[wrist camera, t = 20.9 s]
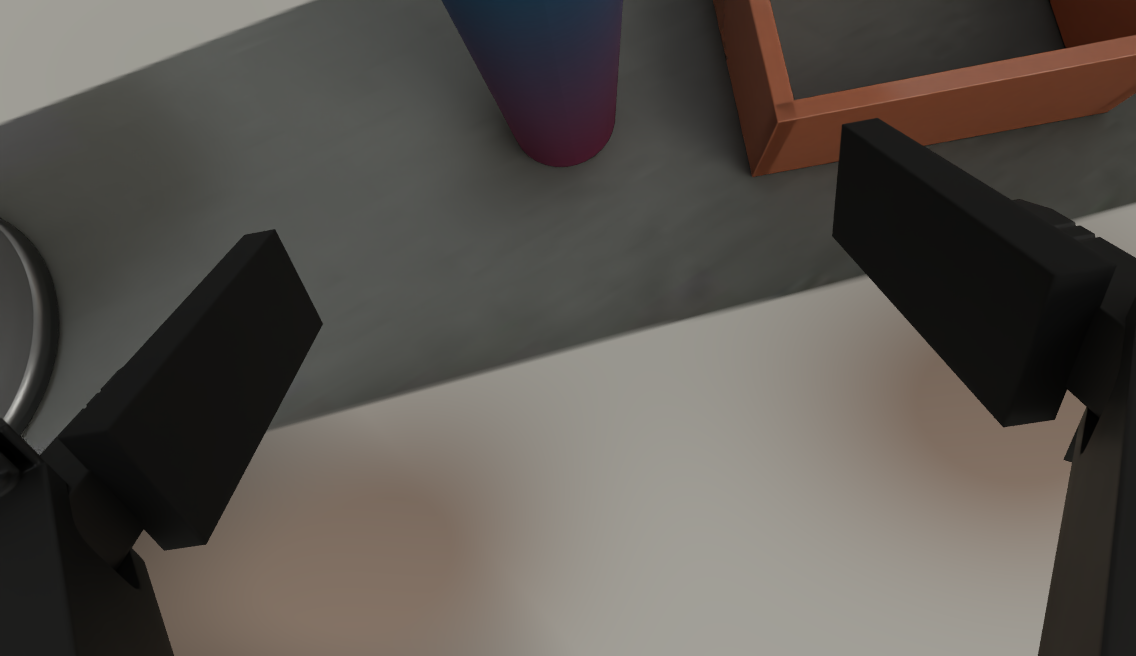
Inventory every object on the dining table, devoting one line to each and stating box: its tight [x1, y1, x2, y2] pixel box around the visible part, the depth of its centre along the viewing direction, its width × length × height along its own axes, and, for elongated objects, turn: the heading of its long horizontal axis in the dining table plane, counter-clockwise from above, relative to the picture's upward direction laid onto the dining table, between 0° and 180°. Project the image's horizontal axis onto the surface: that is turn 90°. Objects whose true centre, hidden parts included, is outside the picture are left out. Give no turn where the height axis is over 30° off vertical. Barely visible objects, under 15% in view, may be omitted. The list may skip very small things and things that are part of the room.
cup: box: [442, 0, 623, 167], centre depth 22 cm, size 7×7×15 cm
